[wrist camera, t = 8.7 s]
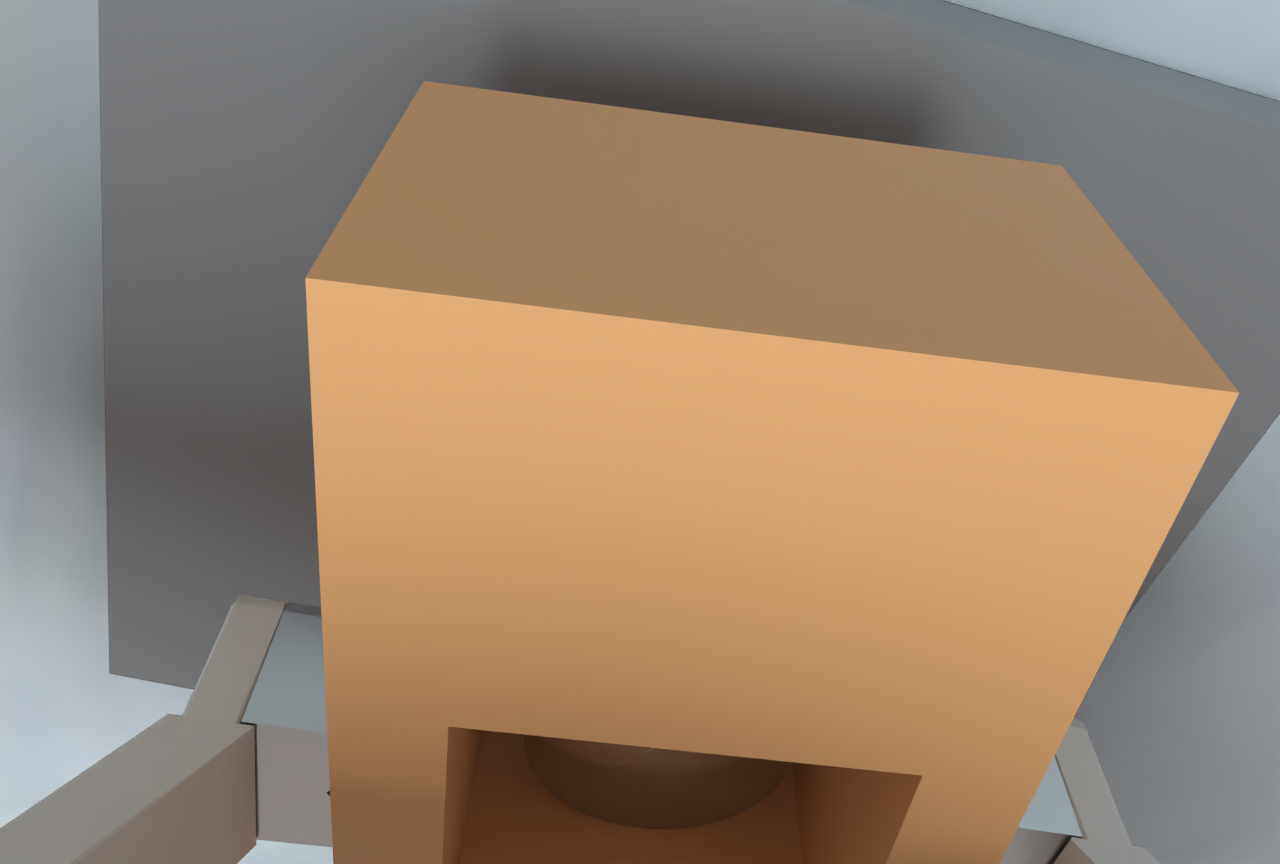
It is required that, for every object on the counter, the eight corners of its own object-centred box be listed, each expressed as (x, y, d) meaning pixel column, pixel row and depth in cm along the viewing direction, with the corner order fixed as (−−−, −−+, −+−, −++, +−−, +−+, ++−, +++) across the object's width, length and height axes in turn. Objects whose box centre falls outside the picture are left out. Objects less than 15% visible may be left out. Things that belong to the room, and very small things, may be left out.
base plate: (1391, 134, 15) (1455, 181, 14) (946, 771, 23) (961, 835, 22) (149, -238, 13) (94, -222, 11) (142, 611, 21) (109, 673, 19)
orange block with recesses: (423, 81, 10) (305, 278, 7) (1062, 165, 11) (1240, 393, 7) (410, 865, 17) (348, 1155, 14) (799, 904, 17) (830, 1195, 14)
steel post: (784, 357, 17) (834, 688, 12) (724, 503, 19) (744, 847, 14) (593, 310, 17) (556, 631, 11) (550, 463, 18) (500, 802, 13)
